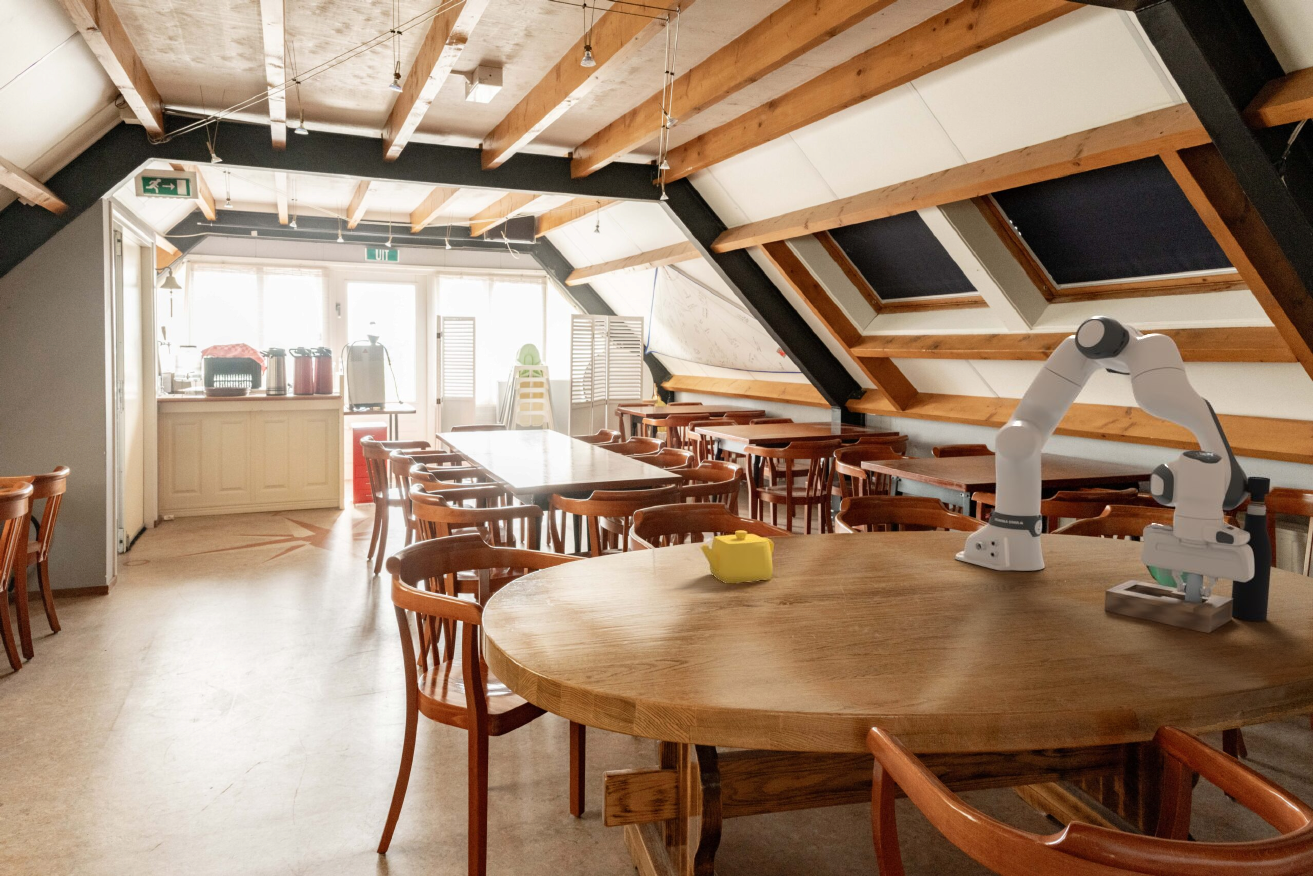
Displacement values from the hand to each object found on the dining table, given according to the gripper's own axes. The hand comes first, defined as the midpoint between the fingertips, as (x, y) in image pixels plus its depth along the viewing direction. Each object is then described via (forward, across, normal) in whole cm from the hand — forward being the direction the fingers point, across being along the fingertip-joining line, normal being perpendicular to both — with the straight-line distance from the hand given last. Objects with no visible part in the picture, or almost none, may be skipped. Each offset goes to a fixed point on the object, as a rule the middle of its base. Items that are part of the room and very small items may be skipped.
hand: (1193, 594), depth 179 cm
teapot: (+6, -87, -48) cm, 99 cm away
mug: (+6, -12, +21) cm, 25 cm away
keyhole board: (+6, -5, 0) cm, 7 cm away
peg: (+5, 0, 0) cm, 5 cm away
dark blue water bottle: (+6, +7, +11) cm, 15 cm away
